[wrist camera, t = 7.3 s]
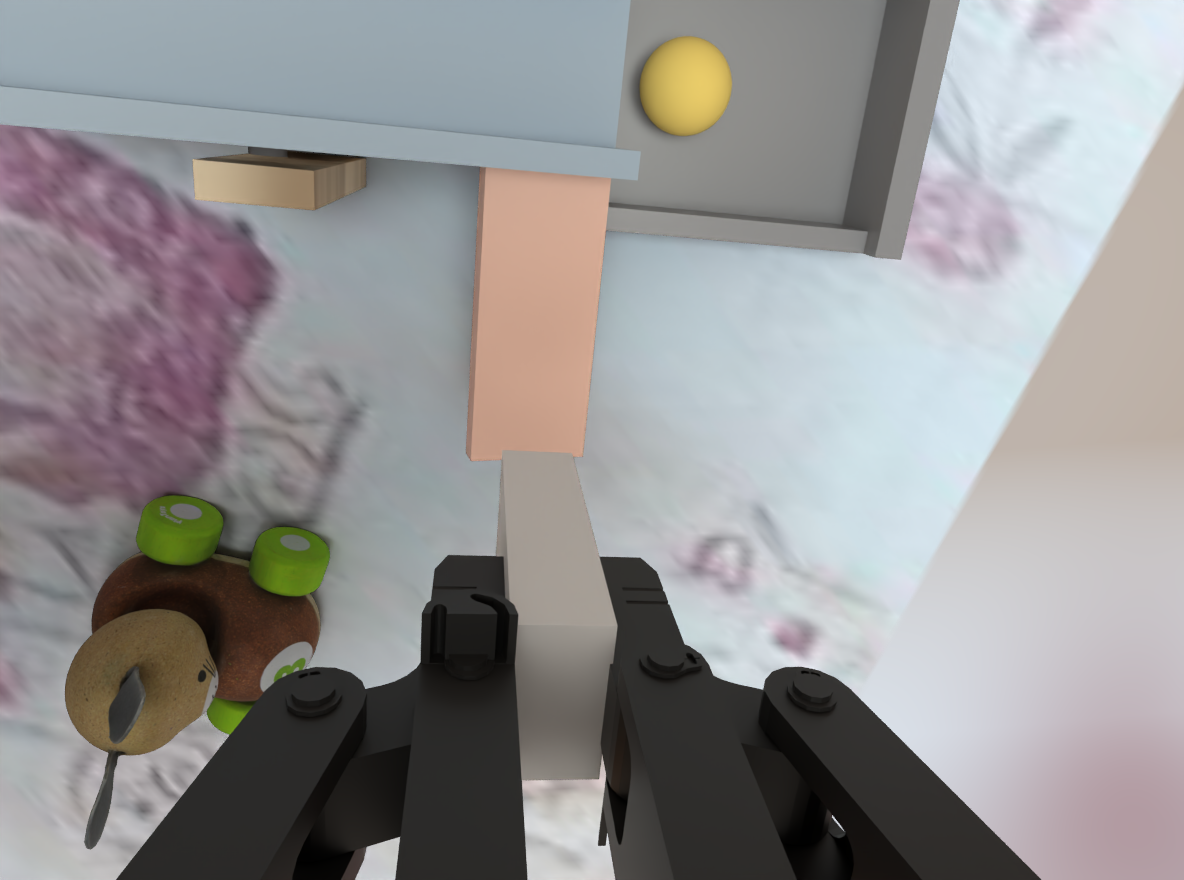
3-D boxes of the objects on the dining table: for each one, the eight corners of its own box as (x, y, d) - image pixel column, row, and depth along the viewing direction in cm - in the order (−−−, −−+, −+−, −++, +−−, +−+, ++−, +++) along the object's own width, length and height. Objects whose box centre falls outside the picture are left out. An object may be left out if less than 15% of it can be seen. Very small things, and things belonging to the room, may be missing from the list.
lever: (-84, 448, 24) (-168, 529, 20) (-213, -195, 19) (-372, -293, 14) (559, 430, 31) (609, 486, 27) (602, -41, 26) (674, -73, 21)
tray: (538, 216, 32) (544, 227, 28) (560, -83, 28) (571, -114, 24) (855, 245, 33) (901, 259, 30) (912, -32, 30) (971, -55, 26)
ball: (622, 129, 28) (714, 138, 27) (633, 26, 27) (729, 32, 26) (648, 133, 31) (731, 141, 30) (659, 40, 30) (745, 46, 29)
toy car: (296, 704, 38) (224, 917, 28) (98, 657, 36) (-59, 867, 26) (352, 540, 36) (295, 707, 25) (141, 479, 34) (-14, 634, 23)
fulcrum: (267, 177, 30) (174, 197, 21) (257, -108, 27) (143, -223, 18) (379, 187, 31) (333, 211, 22) (382, -91, 27) (329, -194, 19)
